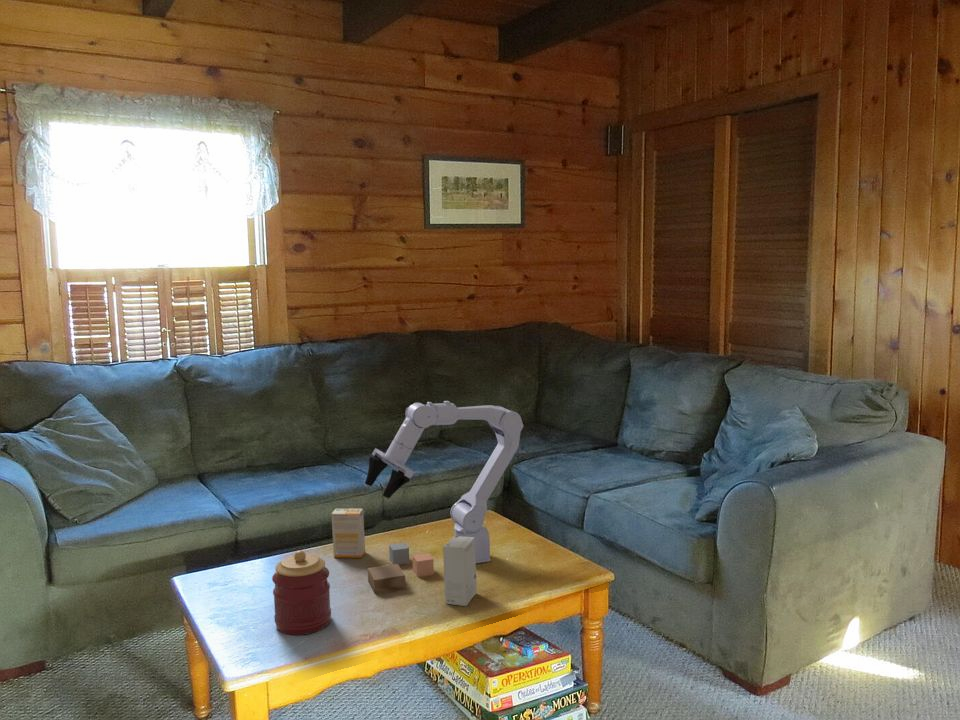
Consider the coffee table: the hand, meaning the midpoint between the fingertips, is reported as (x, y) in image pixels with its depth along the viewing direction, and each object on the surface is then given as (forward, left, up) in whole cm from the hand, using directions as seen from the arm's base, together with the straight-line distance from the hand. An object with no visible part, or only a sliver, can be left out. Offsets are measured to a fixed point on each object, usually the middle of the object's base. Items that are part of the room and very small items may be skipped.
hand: (376, 490), depth 211 cm
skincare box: (-16, +20, -24) cm, 35 cm away
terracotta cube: (-11, +2, -24) cm, 26 cm away
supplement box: (+5, -18, -24) cm, 30 cm away
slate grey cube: (-7, -8, -24) cm, 26 cm away
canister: (+23, +19, -24) cm, 38 cm away
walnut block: (0, +6, -24) cm, 25 cm away
